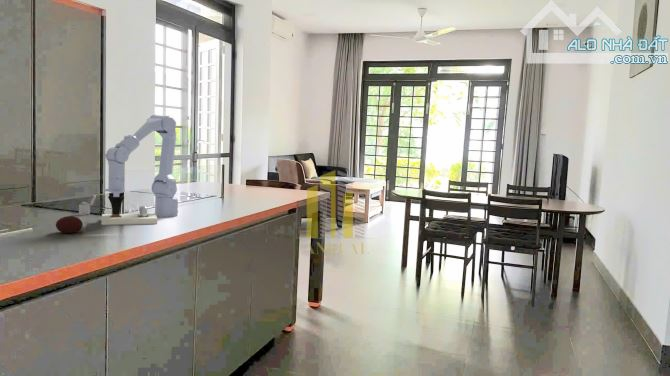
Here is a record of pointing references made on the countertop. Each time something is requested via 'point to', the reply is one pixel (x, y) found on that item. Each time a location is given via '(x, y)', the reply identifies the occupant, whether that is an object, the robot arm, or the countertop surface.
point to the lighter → (86, 206)
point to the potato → (69, 224)
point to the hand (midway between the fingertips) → (116, 212)
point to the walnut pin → (115, 215)
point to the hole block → (128, 219)
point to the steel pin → (143, 211)
